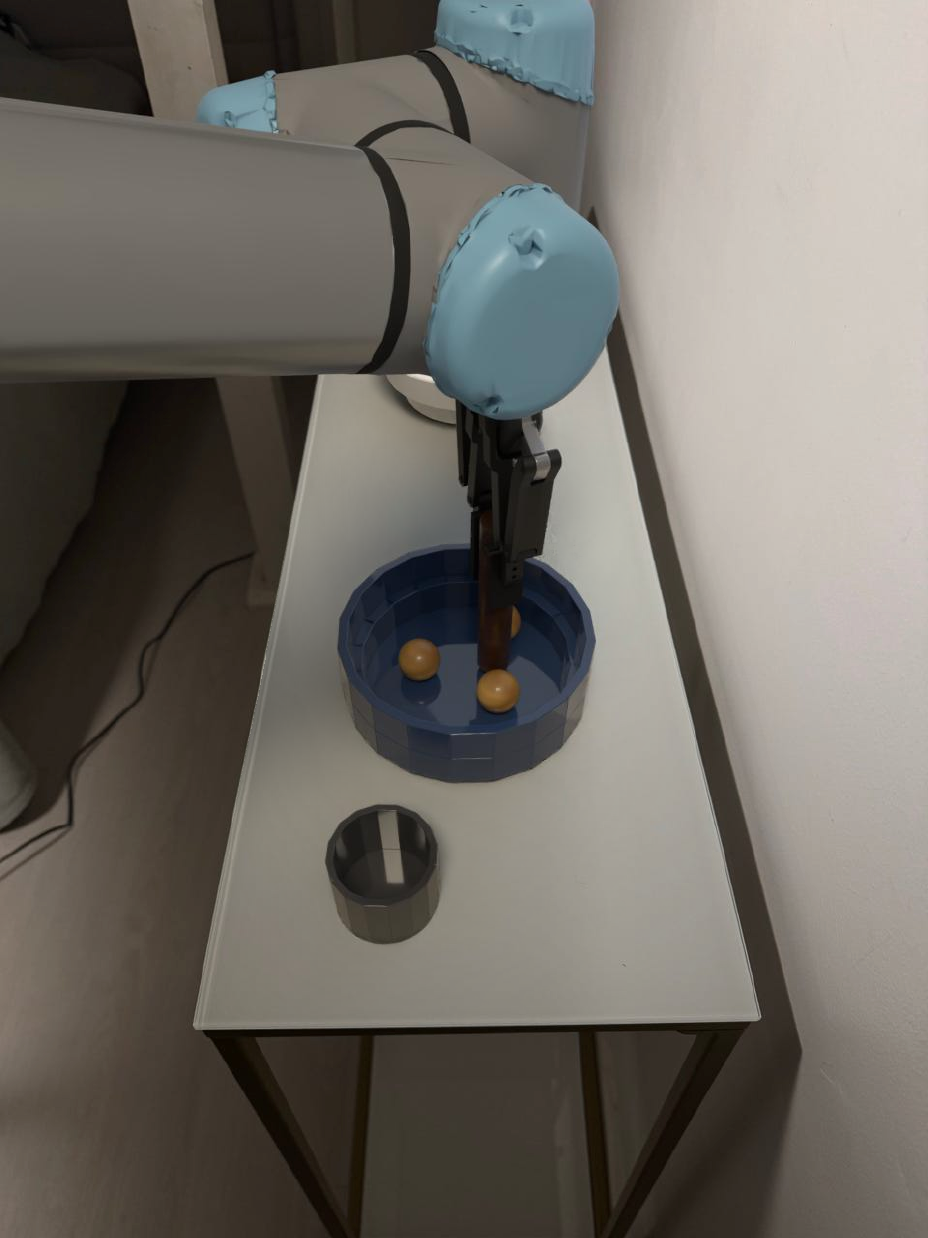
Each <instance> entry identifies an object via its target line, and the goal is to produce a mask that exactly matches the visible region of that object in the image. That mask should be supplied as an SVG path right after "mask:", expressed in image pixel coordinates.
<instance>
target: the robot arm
mask: <svg viewBox="0 0 928 1238" xmlns="http://www.w3.org/2000/svg"><path fill="white" fill-rule="evenodd" d="M436 16H437V17H436V26H435V27H436V28H435V30H434V31H433V34H434V36H433V42H434V43H435V45H434V46H432V47H428V48H424V49H419V50H416V51H414V52H413V53H406V54H401V55H395V56H394V55H393V56H388V57H380V58H375V59H368V60H362V61H361V60H360V61H355V62H348V63H341V64H334V65H328V66H327V65H326V66H320V67H314V68H309V69H300V70H295V71H289V72H288V71H287V72H281V73H276V72H275V70H267V71H266V72H265V73H264V74H263V75H260V76H256V77H253V78H249V79H244V80H240V81H237V82H233V83H229V84H226V85H225V84H224V85H221V86H217V87H214V88H212V89H210V90H209V91H208V92H206V93H205V94H204V95H203V96H202V98H201V100H200V101H199V103H198V106H197V110H196V114H195V121H186V120H178V119H171V118H165V117H164V118H163V117H156V116H147V115H139V114H133V113H125V112H116V111H109V110H102V109H94V108H86V107H79V106H72V105H64V104H56V103H49V102H40V101H34V100H25V99H18V98H10V97H3V96H0V385H1V384H2V385H5V384H8V385H9V384H38V383H39V384H40V383H43V384H44V383H72V382H74V383H75V382H76V383H77V382H106V381H107V382H109V381H111V382H112V381H113V382H114V381H144V380H145V381H147V380H180V379H208V378H209V379H212V378H213V379H214V378H215V379H218V378H247V377H248V378H249V377H250V378H251V377H281V376H282V377H284V376H286V377H287V376H289V377H290V376H314V375H315V376H320V375H321V376H322V375H351V376H352V375H371V376H386V375H402V374H421V375H427V376H430V377H432V379H433V381H434V382H435V385H436V387H437V388H438V389H439V390H440V391H441V392H442V393H443V394H444V395H445V396H447V397H449V398H453V399H455V404H456V424H455V425H456V445H457V447H456V448H457V468H458V469H457V471H458V483H459V484H460V486H461V487H462V488H465V487H467V490H466V492H467V493H466V502H467V504H468V506H469V508H471V509H472V511H470V533H469V535H470V538H469V539H470V542H469V543H470V576H471V577H472V579H473V581H475V580H479V528H480V517H481V515H482V514H483V513H484V512H485V511H487V510H490V509H493V540H492V541H488V543H484V549H485V552H486V554H487V583H486V605H487V607H488V609H489V611H491V610H494V609H498V608H502V607H506V606H509V605H513V604H517V603H520V602H522V593H523V579H524V565H525V559H529V558H532V557H533V558H536V557H539V556H542V555H543V552H544V546H545V539H546V535H547V534H546V532H547V527H548V521H549V516H550V515H549V514H550V507H551V502H552V496H553V490H554V484H555V479H556V477H557V475H558V474H559V472H560V471H561V468H562V465H563V459H562V455H561V452H560V450H559V449H558V448H552V449H547V450H546V447H545V445H544V443H543V441H542V438H541V434H540V435H539V432H540V430H542V428H543V425H544V415H543V414H544V412H543V411H545V410H547V409H549V408H551V407H553V406H555V405H556V404H557V403H559V402H560V401H562V400H563V399H564V398H566V397H567V396H569V394H571V393H572V392H573V391H574V390H575V389H576V388H577V387H579V385H580V384H581V383H582V382H583V381H584V380H585V379H586V378H587V376H588V375H589V374H590V373H591V371H592V370H593V368H594V367H595V365H596V364H597V362H598V360H599V359H600V357H601V356H602V354H603V353H604V350H605V348H606V345H607V341H608V336H609V334H610V333H611V331H612V330H613V326H614V325H613V324H614V323H613V322H614V320H615V319H616V318H617V312H618V310H619V303H620V301H619V300H620V278H619V272H618V271H619V270H618V265H617V262H616V258H615V255H614V253H613V251H612V249H611V247H610V245H609V243H608V242H607V240H606V239H605V237H604V236H603V235H602V233H601V232H600V231H599V229H597V228H596V227H595V226H594V225H593V224H592V223H590V222H589V221H588V219H585V218H584V217H583V216H582V215H580V210H581V202H582V195H583V194H582V193H583V183H584V175H585V165H586V158H587V148H588V142H589V141H588V140H589V131H590V122H591V112H592V106H593V105H595V103H594V102H595V94H594V91H593V89H594V73H595V55H596V53H595V52H596V44H595V43H596V41H595V40H596V33H595V32H596V27H595V26H596V21H595V14H594V10H593V7H592V5H591V3H590V2H589V0H439V3H438V8H437V15H436Z"/></svg>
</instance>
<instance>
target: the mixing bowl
mask: <svg viewBox="0 0 928 1238" xmlns="http://www.w3.org/2000/svg"><path fill="white" fill-rule="evenodd" d="M478 583H479V580H475V581H473V579H472V577H471V576H470V542H463V543H440V544H437V545H432V546H429V547H424V548H420V549H417V550H412V551H409V552H407V553H404V554H403V555H401V556H398V557H397V558H395V559H393V560H391V561H389V562H387V563H386V564H383V565H382V566H379V567H378V568H376V569H375V570H374V571H373V572H372V573H371V574H370V575H368V577H366V579H364V580H363V582H361V583H360V584H359V585H358V586H357V587H356V588H355V589H354V590H353V591H352V592H351V595H350V597H349V599H348V601H347V603H346V604H345V606H344V609H343V611H342V612H341V614H340V616H339V619H338V629H337V630H338V631H337V646H336V650H337V651H336V652H337V656H338V663H339V669H340V674H341V680H342V686H343V692H344V699H345V701H346V704H347V708H348V710H349V713H350V716H351V719H352V722H353V724H354V727H355V729H356V730H357V731H358V732H359V733H360V734H361V736H363V738H364V739H365V740H366V741H367V743H368V744H369V745H370V746H371V747H372V749H374V751H375V752H377V754H378V755H380V756H382V757H384V758H385V759H387V760H389V761H390V762H392V763H394V764H396V765H398V766H399V767H401V768H403V769H404V770H406V771H408V772H409V773H412V774H415V775H419V776H422V777H427V778H431V779H436V780H440V781H444V782H449V783H468V782H469V783H470V782H471V783H472V782H493V781H496V780H499V779H503V778H506V777H508V776H509V777H510V776H511V775H514V774H518V773H521V772H524V771H527V770H530V769H532V768H534V767H535V766H536V765H538V764H539V763H541V762H543V761H544V760H545V759H547V758H548V757H549V756H551V755H553V753H555V752H557V751H558V750H560V749H561V748H562V747H563V746H564V744H565V743H566V741H567V740H568V738H570V736H571V734H572V733H573V732H574V730H575V729H576V727H577V726H578V724H580V721H581V720H582V717H583V712H584V708H585V703H586V699H587V694H588V690H589V685H590V679H591V673H592V666H593V661H594V654H595V649H596V643H597V639H596V633H595V630H594V628H595V627H594V622H593V618H592V617H593V616H592V612H591V610H590V608H589V607H588V605H587V603H586V602H585V600H584V599H583V597H582V595H581V594H580V592H579V591H578V589H577V588H576V587H575V585H574V584H573V583H572V582H571V581H570V580H569V579H567V578H566V577H564V575H562V574H561V573H560V572H558V571H557V570H556V569H555V568H553V567H552V566H551V565H549V563H546V562H545V561H542V560H540V559H537V558H536V557H532V558H529V559H525V565H524V579H523V593H522V602H520V603H517V604H513V606H514V607H515V608H516V609H517V610H518V612H519V614H520V617H521V626H520V630H519V632H518V633H517V635H516V636H515V637H514V638H512V639H511V646H510V662H509V666H508V667H507V669H506V670H505V671H507V672H509V673H511V674H512V675H513V676H514V677H515V678H516V680H517V681H518V683H519V687H520V696H519V699H518V701H517V703H516V705H515V706H514V707H513V708H512V709H510V710H509V711H506V712H503V713H493V712H490V711H488V710H486V709H485V708H484V707H483V706H482V705H481V704H480V703H479V701H478V698H477V694H476V689H477V684H478V682H479V680H480V678H481V677H482V676H483V675H484V674H485V673H486V672H484V671H483V670H481V669H480V667H479V666H478V664H477V637H478ZM413 639H426V640H428V641H430V642H432V643H433V644H434V645H435V646H436V647H437V649H438V651H439V653H440V666H439V669H438V670H437V672H436V673H435V674H434V675H433V676H432V677H431V678H429V679H427V680H423V681H416V680H412V679H410V678H408V677H407V676H405V675H404V674H403V672H402V671H401V669H400V667H399V663H398V656H399V652H400V650H401V648H402V647H403V646H404V645H405V644H406V643H407V642H409V641H410V640H413Z"/></svg>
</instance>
